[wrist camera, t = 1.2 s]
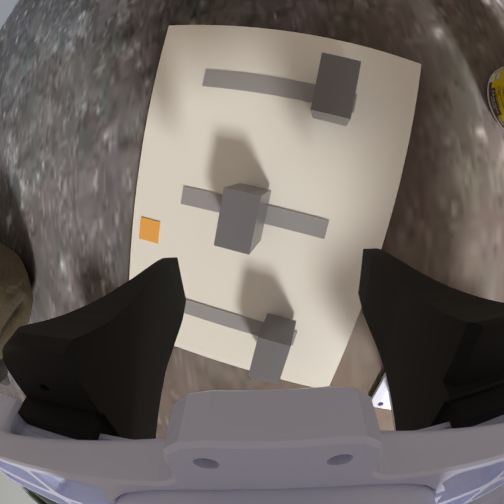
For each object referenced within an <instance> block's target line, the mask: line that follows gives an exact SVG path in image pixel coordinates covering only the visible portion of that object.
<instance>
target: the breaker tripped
mask: <svg viewBox="0 0 504 504" xmlns="http://www.w3.org/2000/svg"><path fill="white" fill-rule="evenodd" d="M270 195H271V190H269V189H264V188H260V187H256V186H251V185H247V184H242V183H238V184H234V185H231V186H227V187H224V190H223V195H222V201H221V206H220V212H219V218H218V223H217V229H216V235H215V241H214V246H218V247H222V248H225V249H229V250H233V251H237V252H240V253H244V254H248V255H249V254H250V253H251V252H252V251H253V249H254V248H255V247H256V246H257V244H258V243H259V242H260V241H261V237H262V232H263V228H264V223H265V218H266V214H267V209H268V204H269V200H270Z"/></svg>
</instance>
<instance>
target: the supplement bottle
mask: <svg viewBox="0 0 504 504" xmlns="http://www.w3.org/2000/svg"><path fill="white" fill-rule="evenodd" d="M487 98H488V103H489V106H490V109H491V112H492V114H493V116H494V118H495V120H496V121H497V123H498V124H499V125H500V126H501V128H502V129H503V130H504V66H503V67H501V68H499V69H497V70H496V71H494V72H493V74H492V75H491V77H490V79H489V81H488V86H487Z"/></svg>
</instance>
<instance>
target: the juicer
mask: <svg viewBox="0 0 504 504" xmlns="http://www.w3.org/2000/svg"><path fill="white" fill-rule="evenodd" d="M7 375H8V370H7V367H6V365H5V363H4V360H3V358H2V359H0V383H1V384H4V385H9V384H10V382H9V379H8V376H7Z"/></svg>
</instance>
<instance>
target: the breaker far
mask: <svg viewBox="0 0 504 504" xmlns="http://www.w3.org/2000/svg"><path fill="white" fill-rule="evenodd" d="M295 325H296V320H292V319H288V318H284V317H281V316H277V315H273V314H270V313H267V316H266V318H265V321H264V323H263V326H262V328H261V331H260V333H259V336H258V339H257V343H256V347H255V351H254V355H253V359H252V362H251V366H250V370H249V374H248V377H250V378H254V379H257V380H261V381H264V382H268V383H272V384H275V385H278V383H279V380H280V378H281V375H282V372H283V369H284V366H285V363H286V360H287V357H288V354H289V351H290V347H291V343H292V339H293V334H294V329H295Z"/></svg>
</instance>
